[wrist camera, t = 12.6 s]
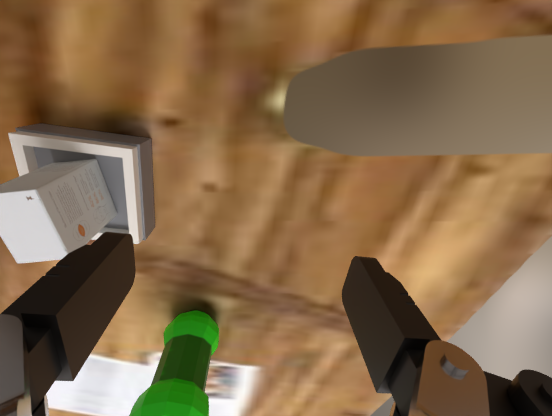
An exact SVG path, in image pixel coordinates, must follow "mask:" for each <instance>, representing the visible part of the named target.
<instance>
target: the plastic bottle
mask: <svg viewBox="0 0 552 416" xmlns="http://www.w3.org/2000/svg"><path fill="white" fill-rule="evenodd" d="M218 342H219V328H218V325H217V324H216V322H215V321H214V320H213V319H212V318H211V317H210V316H209V315H208V314H206V313H205V312H201V311H198V310H195V311H190V312H186V313H181V314H179V315H178V316H177V317H176V318H175V319H174V320H173V321H172V322H171V323H170V324H169V325H168V326H167V327H166V329H165V331H164V345H165V348H164V350H163V353H162V356H161V359H160V362H159V364H158V367H157V370H156V373H155V376H154V378H153V381H152V384H151V386H150V387H149V388H148V389H147V390H146V391H145V392H144V393H143V394H141V395H140V396H139V398H138V399H137V401H136V403H135V404H134V406H133V408H132V410H131V413H130V415H129V416H209V401H208V396H207V395H206V393H205V386H206V381H207V375H208V369H209V364H210V358H211V355H212V354H213V353H214V352H215V350H216V349H217V347H218Z"/></svg>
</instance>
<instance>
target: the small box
mask: <svg viewBox="0 0 552 416" xmlns="http://www.w3.org/2000/svg"><path fill="white" fill-rule="evenodd" d="M116 215H117V211H116V209H115V206H114V204H113V201H112V198H111V196H110V193H109V191H108V188H107V185H106V183H105V180H104V178H103V175H102V172H101V170H100V167H99V165H98V162H97V160H96V159H89V160H78V161H67V162H57V163H51V164H49V165H46V166H44V167H41V168H39V169H36V170H34V171H32V172H29V173H27V174H24V175H22V176H20V177H17V178H15V179H13V180H10V181H8V182H5V183H3V184H0V236H1V238H2V240H3V241H4V243H5V244H6V246H7V248H8V249H9V251H10V252H11V254H12V256H13V257H14V259H15V260H16V262H17V263H30V262H40V261H50V260H61V259H63V258H64V257H65V256H66V255H67V254H68V253H70V252H72V251H74V250H76V249H78V248H80V247H82V246H84V245H86V244H87V243H88V242H89V241H90V240H91V239H92V238H93V237H94V236H95V235H96V234H97V233H98V232H99V231H100V230H101V229H102V228H103V227H104V226H105V225H106V224H107V223H108V222H109V221H110V220H112V219H113V218H114V217H115V216H116Z"/></svg>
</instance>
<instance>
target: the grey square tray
mask: <svg viewBox="0 0 552 416" xmlns="http://www.w3.org/2000/svg"><path fill="white" fill-rule="evenodd" d="M8 134H9V138H10V142H11V146H12V150H13V153H14V157H15V161H16V165H17V169H18V173H19V176H22V175H24V174H27V173H29V172H32V171H34V170H36V169H39V168H41V167H44V166H46V165H49V164H51V163H57V162H67V161H78V160H89V159H96V160H97V162H98V165H99V167H100V170H101V172H102V175H103V178H104V180H105V183H106V185H107V188H108V191H109V193H110V196H111V198H112V201H113V204H114V206H115V209H116V211H117V215H116V216H115V217H114V218H113V219H112V220H110V221H109V222H108V223H107V224H106V225H105V226H104V227H103V228H102V229H101V230H100V231H99V232H98V233H97V234H96V235H95V236H94V237H93V238H92V239H91V240H97V239H98V238H99V237H100V236H101V235H102V234H103V233H104V232H116V233H126V234H131V235H132V238H133V243H134V244H139V243H140V242H141V241H142V240H146V239H147V237H148V236H149V235H150V233H151V232H152V231H153V229H154V228H155V211H154V188H153V164H152V140H151V138H144V137H137V136H130V135H122V134H115V133H108V132H101V131H93V130H86V129H79V128H71V127H64V126H57V125H50V124H42V123H39V124H34V125H29V126H23V127H18V128H16V132H11V133H8Z"/></svg>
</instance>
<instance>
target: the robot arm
mask: <svg viewBox="0 0 552 416" xmlns="http://www.w3.org/2000/svg"><path fill="white" fill-rule="evenodd" d="M134 278H135V259H134V247H133V238H132V235H131V234H126V233H116V232H104V233H103V234H102V235H101V236H100V237H99V238H98V239H97V240H96V241H95V242H93V243H92V244H91V245H84V246H82V247H80V248H78V249H76V250H74V251H72V252H70V253H68V254H67V255H66V256H65V257H64V258H63V259H61V260H60V261H59V262H58V263H57V264H56V267H55V266H54V267H53V268H51V269H50V270H49V271H48V272H47V273H46V275H45V276H42V277H41V278H40V279H39V280H38V281H37V282H36V283H35V284H34V285H32V286H31V287H30V288H29V289H28V290H27V291H26V292H25V293H23V294H22V295H21V296H20V297H19V298H18V299H17V300H16V301H15V302H13V303H12V304H11V305H10V306H9V307H8V308H7V309H6V310H4V311H3V312H2V313H1V314H0V416H49V411H48V400H47V396H46V393H47V392H48V390H49V389H50V387H51V386H52V384H53V383H54V381H55V380H57V381H73V380H74V379H75V377H76V376H77V374H78V372H79V371H80V369H81V368H82V366H83V364H84V363H85V361H86V360H87V358H88V356H89V355H90V353H91V352H92V350H93V348H94V347H95V345H96V344H97V342H98V340H99V339H100V337H101V336H102V334H103V332H104V331H105V329H106V328H107V326H108V324H109V323H110V321H111V320H112V318H113V316H114V315H115V313H116V311H117V310H118V308H119V307H120V305H121V303H122V302H123V300H124V299H125V297H126V295H127V294H128V292H129V291H130V289H131V287H132V285H133V282H134ZM342 302H343V305H344V308H345V311H346V313H347V316H348V319H349V321H350V324H351V326H352V329H353V332H354V334H355V337H356V340H357V342H358V345H359V348H360V350H361V353H362V355H363V358H364V361H365V363H366V366H367V369H368V371H369V374H370V377H371V379H372V382H373V384H374V387H375V390H376V392H377V393H391V394H392V396H393V398H394V401H395V402H394V404H393V405H392V408H391V412H390V416H552V378H550V377H549V376H547V375H544V374H542V373H540V372H537V371H534V370H522V371H520V373H519V374H518V375H517V376H516V377H515V378H514V379H513V381H511V380H508V379H505V378H502V377H500V376H497V375H494V374H491V373H487V372H485V371H483V370H482V369H481V367H480V366H479V365H478V363H477V362H476V361H475V360H474V359H473V358H472V357H471V356H470V355H468V354H467V353H466V352H465V351H463V350H462V349H460V348H459V347H457V346H455V345H453V344H451V343H448V342H445V341H442V340H441V339H440V338H439V336H438V335H437V333H436V332H435V331H434V329H433V328H432V326H431V325H430V324H429V322H428V321H427V319H426V318H425V316H424V315H423V314H422V312H421V311H420V309H419V308H418V307H417V305H415V302H414V301H413V300H412V298H411V297H410V296H408V292H407V291H406V290H405V288H404V287H403V285H402V284H401V283H400V282H399V281H398V280H397V279H396V278H394V277H393V276H392V275H391V274H390V273H387V272H385V271H384V269H383V268H382V266H381V265H380V263H379V262H378V260H377V259H376V258H369V257H359V256H355V257H354V258H353V259H352V261H351V264H350V267H349V270H348V273H347V277H346V280H345V283H344V286H343V289H342Z"/></svg>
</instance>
